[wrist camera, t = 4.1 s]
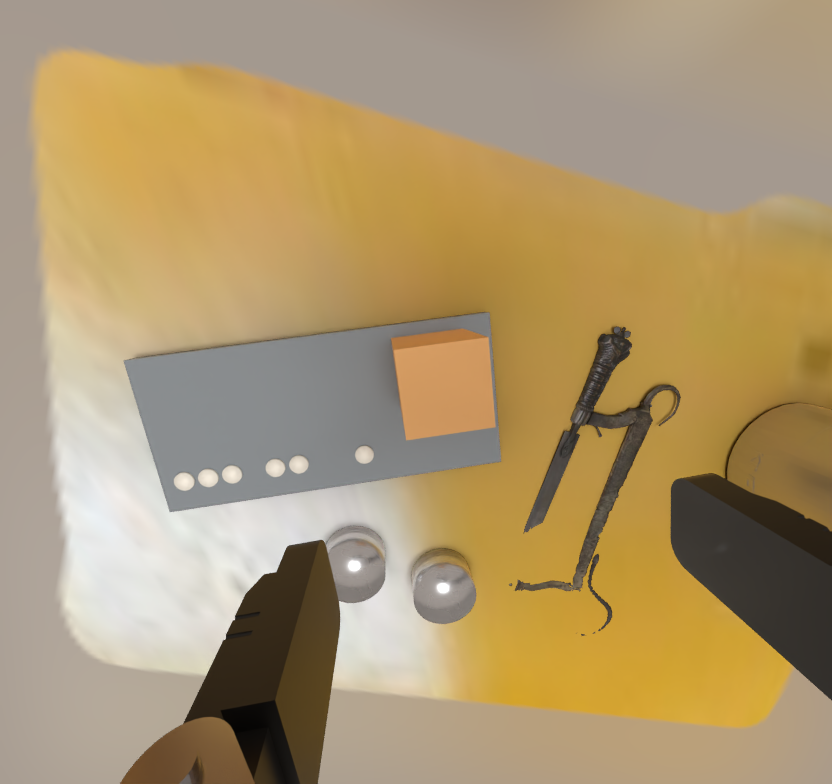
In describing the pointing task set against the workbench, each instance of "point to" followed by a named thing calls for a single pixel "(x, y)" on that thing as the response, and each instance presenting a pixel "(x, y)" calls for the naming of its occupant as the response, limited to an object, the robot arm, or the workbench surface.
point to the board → (292, 415)
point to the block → (444, 382)
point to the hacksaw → (638, 419)
